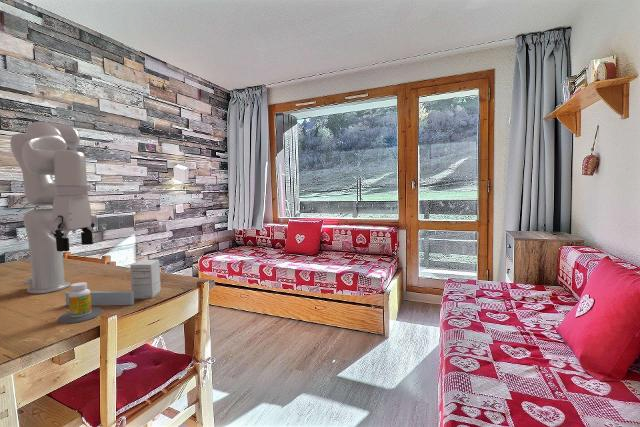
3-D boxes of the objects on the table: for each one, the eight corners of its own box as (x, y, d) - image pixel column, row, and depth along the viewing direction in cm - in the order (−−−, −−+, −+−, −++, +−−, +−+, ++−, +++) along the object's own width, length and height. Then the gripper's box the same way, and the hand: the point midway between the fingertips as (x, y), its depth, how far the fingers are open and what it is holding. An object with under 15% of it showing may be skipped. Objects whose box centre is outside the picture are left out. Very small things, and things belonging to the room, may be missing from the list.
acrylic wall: (66, 305, 104) (65, 293, 104) (69, 304, 105) (68, 291, 105) (132, 304, 105) (131, 292, 104) (134, 303, 106) (133, 291, 106)
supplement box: (141, 291, 118) (139, 259, 117) (161, 291, 118) (160, 259, 117) (131, 298, 110) (129, 264, 109) (152, 298, 111) (151, 264, 110)
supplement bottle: (79, 318, 93) (77, 287, 92) (65, 316, 94) (63, 286, 93) (96, 311, 98) (93, 282, 97) (82, 310, 100) (80, 280, 99)
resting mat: (48, 323, 90) (48, 322, 90) (76, 308, 101) (76, 307, 101) (86, 323, 91) (86, 322, 91) (110, 308, 102) (110, 307, 102)
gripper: (80, 191, 101) (84, 242, 103) (33, 192, 84) (38, 254, 86) (103, 191, 101) (106, 242, 103) (61, 193, 84) (66, 254, 86)
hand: (75, 247), depth 94 cm, fingers open, 9 cm apart
